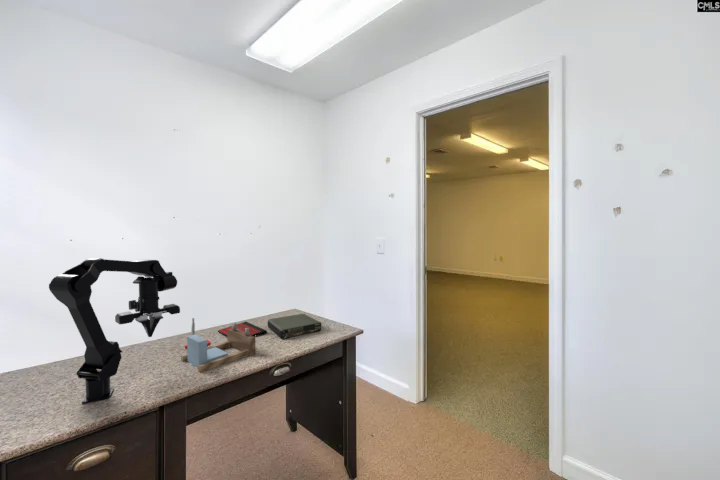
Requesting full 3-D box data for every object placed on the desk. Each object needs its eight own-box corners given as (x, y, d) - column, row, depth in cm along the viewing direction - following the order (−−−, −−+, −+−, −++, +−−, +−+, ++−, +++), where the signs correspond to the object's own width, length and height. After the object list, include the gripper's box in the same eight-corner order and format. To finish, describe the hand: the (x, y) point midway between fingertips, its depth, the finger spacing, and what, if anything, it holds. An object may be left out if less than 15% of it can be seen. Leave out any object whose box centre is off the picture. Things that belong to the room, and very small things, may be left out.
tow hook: (197, 341, 140) (182, 348, 131) (197, 313, 141) (183, 318, 131) (213, 342, 139) (200, 349, 130) (214, 314, 139) (200, 319, 130)
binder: (246, 320, 164) (267, 329, 150) (246, 325, 165) (267, 334, 150) (215, 329, 153) (235, 339, 138) (216, 333, 153) (235, 344, 139)
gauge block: (199, 369, 112) (198, 342, 112) (187, 361, 118) (187, 336, 118) (228, 359, 121) (227, 334, 120) (215, 352, 127) (215, 329, 126)
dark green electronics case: (284, 342, 140) (284, 331, 140) (261, 329, 157) (261, 320, 157) (325, 330, 156) (325, 320, 155) (301, 320, 173) (301, 311, 173)
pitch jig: (201, 373, 109) (200, 345, 108) (180, 359, 120) (179, 334, 119) (255, 353, 126) (255, 329, 125) (232, 343, 137) (232, 321, 136)
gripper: (168, 287, 123) (169, 326, 124) (110, 295, 108) (111, 339, 109) (180, 291, 116) (181, 331, 117) (119, 300, 102) (120, 346, 102)
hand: (149, 336), depth 111 cm, fingers closed
